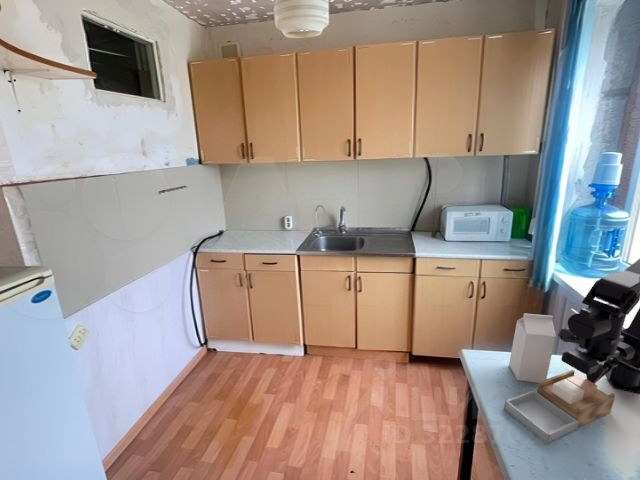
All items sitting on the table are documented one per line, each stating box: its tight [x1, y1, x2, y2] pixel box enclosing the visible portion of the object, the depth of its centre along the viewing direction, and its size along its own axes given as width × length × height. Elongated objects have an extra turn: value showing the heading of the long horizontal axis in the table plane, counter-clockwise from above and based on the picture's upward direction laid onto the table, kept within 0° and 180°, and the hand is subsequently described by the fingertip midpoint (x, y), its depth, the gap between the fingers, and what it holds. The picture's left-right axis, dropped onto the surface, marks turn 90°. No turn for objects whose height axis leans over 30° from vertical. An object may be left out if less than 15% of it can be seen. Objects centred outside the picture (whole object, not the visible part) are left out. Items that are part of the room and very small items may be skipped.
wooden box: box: [536, 369, 616, 428], centre depth 84 cm, size 13×10×5 cm
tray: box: [503, 390, 579, 445], centre depth 80 cm, size 10×11×2 cm
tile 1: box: [552, 379, 585, 404], centre depth 82 cm, size 4×4×2 cm
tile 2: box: [567, 374, 598, 399], centre depth 84 cm, size 4×4×2 cm
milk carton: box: [508, 313, 557, 384], centre depth 93 cm, size 7×7×19 cm
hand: (590, 383), depth 85 cm, fingers closed
